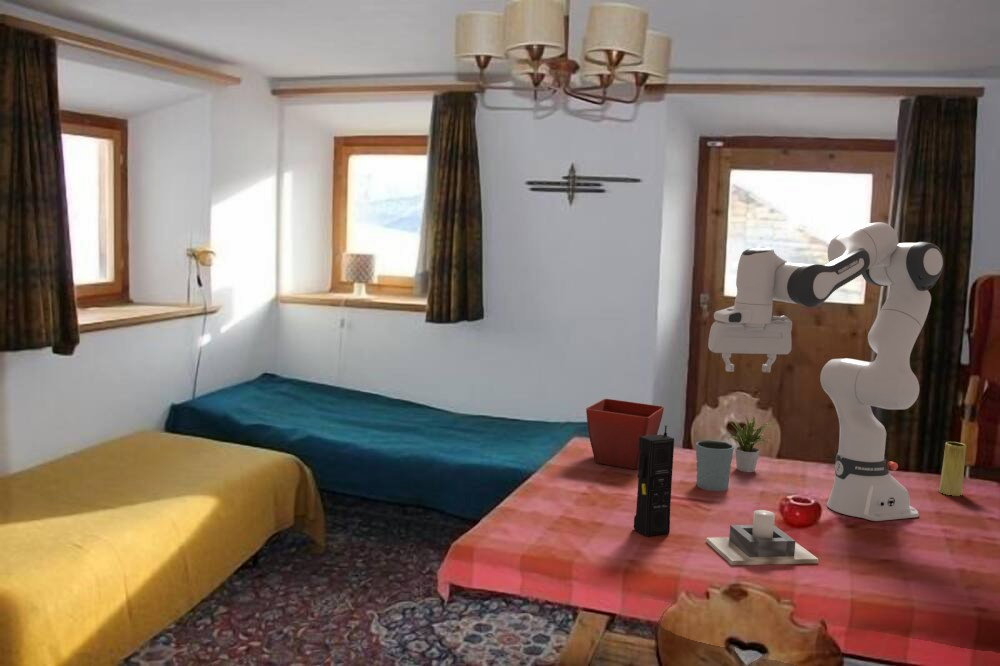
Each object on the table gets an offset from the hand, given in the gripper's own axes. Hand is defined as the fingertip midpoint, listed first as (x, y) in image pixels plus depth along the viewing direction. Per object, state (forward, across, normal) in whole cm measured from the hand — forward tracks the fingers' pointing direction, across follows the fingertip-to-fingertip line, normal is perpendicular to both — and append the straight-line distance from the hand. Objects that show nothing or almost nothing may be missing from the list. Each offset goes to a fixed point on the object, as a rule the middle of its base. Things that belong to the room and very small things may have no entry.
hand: (747, 371), depth 221 cm
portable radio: (+37, +25, +8) cm, 46 cm away
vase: (+37, -73, -19) cm, 84 cm away
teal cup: (+37, -5, -27) cm, 46 cm away
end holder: (+37, +4, +22) cm, 43 cm away
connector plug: (+36, +4, +22) cm, 42 cm away
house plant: (+37, -23, -42) cm, 61 cm away
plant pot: (+37, +13, -52) cm, 65 cm away
